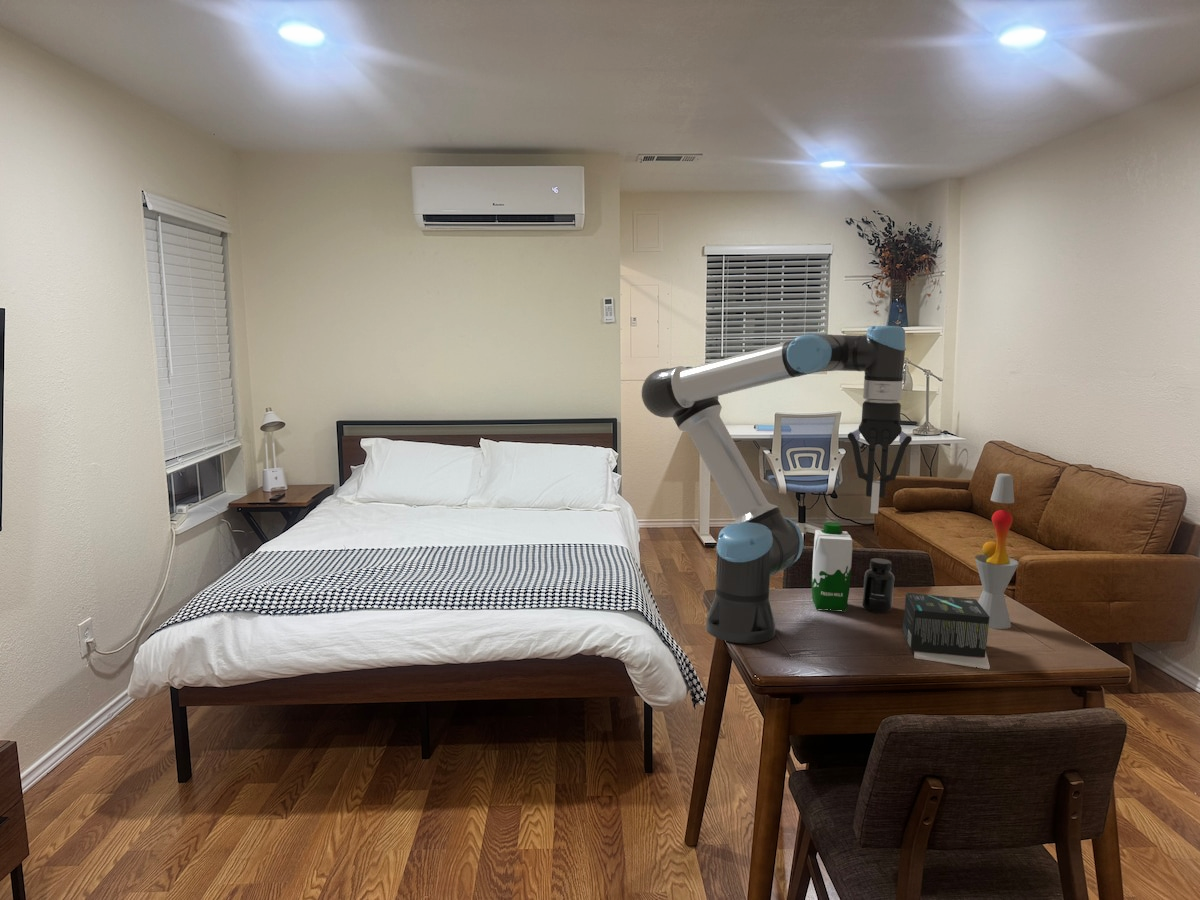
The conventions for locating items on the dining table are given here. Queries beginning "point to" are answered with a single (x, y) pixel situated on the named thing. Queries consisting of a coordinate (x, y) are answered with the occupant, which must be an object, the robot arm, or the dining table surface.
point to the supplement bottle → (878, 586)
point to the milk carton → (831, 567)
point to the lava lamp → (997, 559)
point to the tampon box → (945, 625)
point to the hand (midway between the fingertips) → (874, 511)
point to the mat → (954, 659)
